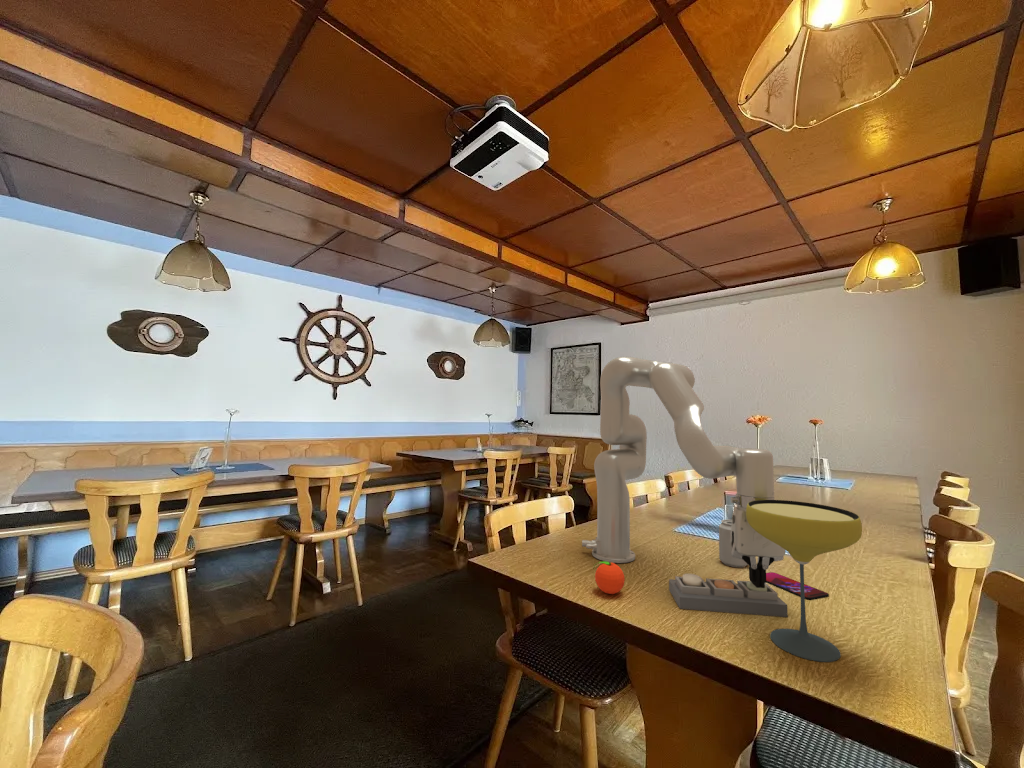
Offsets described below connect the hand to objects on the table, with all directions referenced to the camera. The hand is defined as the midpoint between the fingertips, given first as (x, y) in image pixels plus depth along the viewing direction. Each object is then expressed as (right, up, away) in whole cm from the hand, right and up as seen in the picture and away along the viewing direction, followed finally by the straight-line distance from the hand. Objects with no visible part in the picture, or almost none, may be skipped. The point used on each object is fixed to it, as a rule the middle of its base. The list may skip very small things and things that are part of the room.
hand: (757, 585), depth 94 cm
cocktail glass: (-1, -4, -16) cm, 17 cm away
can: (+8, -7, +26) cm, 28 cm away
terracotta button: (-7, -2, +1) cm, 7 cm away
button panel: (-7, -4, +1) cm, 8 cm away
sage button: (0, -2, 0) cm, 2 cm away
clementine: (-33, -4, +5) cm, 34 cm away
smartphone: (+14, -6, +11) cm, 19 cm away
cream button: (-14, -1, +2) cm, 14 cm away
